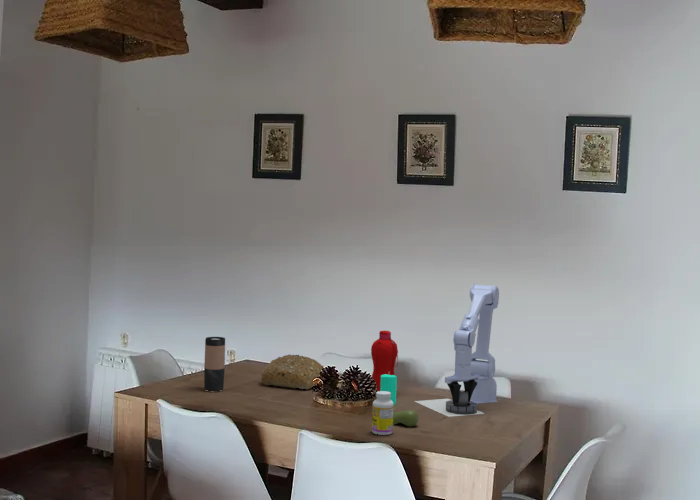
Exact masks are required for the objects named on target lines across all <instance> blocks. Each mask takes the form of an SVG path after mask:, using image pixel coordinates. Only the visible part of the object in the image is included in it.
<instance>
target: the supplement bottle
mask: <svg viewBox="0 0 700 500" xmlns="http://www.w3.org/2000/svg"><path fill="white" fill-rule="evenodd" d="M375 397H376V399H375V400H374V401H373V402H372V411H371V413H372V415H371V419H372V420H371V433H372V434H374V435H377V434H378V436H389V435H391V434H392V433H393V429H394V425H393V413H394V407H395V406H394V403H393V402H392V401H391V400H390V398H391V393H390V392H387V391H378V392H376V396H375Z"/></svg>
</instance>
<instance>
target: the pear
mask: <svg viewBox="0 0 700 500" xmlns="http://www.w3.org/2000/svg"><path fill="white" fill-rule="evenodd" d="M418 423H419V415H418V413H417V412H416V411H415V410H413V409H406V410H401V411H394V412H393V426H394V425H398V424H402V425H405V426H407V427H410V428H411V427H415V426H416V425H417V424H418Z"/></svg>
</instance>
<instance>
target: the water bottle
mask: <svg viewBox="0 0 700 500" xmlns="http://www.w3.org/2000/svg"><path fill="white" fill-rule="evenodd" d="M378 334H379V337H378V339H376V340H375V341H373V342H372V345H371V349H370V351H371V352H370V354H371V359H372V364H373V365H372V366H373V367H372V368H373V371H372V375H371V378H373V379H374V380H375V382H376V385H377V392H378V391H380V383H381V375H384V374H387V375H395V376H396V374H395V368H397V367H398V365H399V363H397V365H396V361H397V360H399V355H398V354H399V351H398V345H397V343H396V342H395V340H393V339H392V332H391V331H390V330H379V333H378ZM397 392H398V391H396V394H397Z"/></svg>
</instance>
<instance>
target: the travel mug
mask: <svg viewBox="0 0 700 500" xmlns="http://www.w3.org/2000/svg"><path fill="white" fill-rule="evenodd" d="M204 341H205V342H204V343H205V345H204V365H203V367H204V372H203V374H204V377H203V379H204V386H203V387H204V389H205V390H208V391H220V390H223V391H224V388H225V387H224V386H225V385H224V384H225V383H224V382H225V371H226V370H225V365H226V362H225V361H226V338H225V337H224V336H208V337H206V338H205V340H204ZM205 390H204V391H205Z"/></svg>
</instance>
